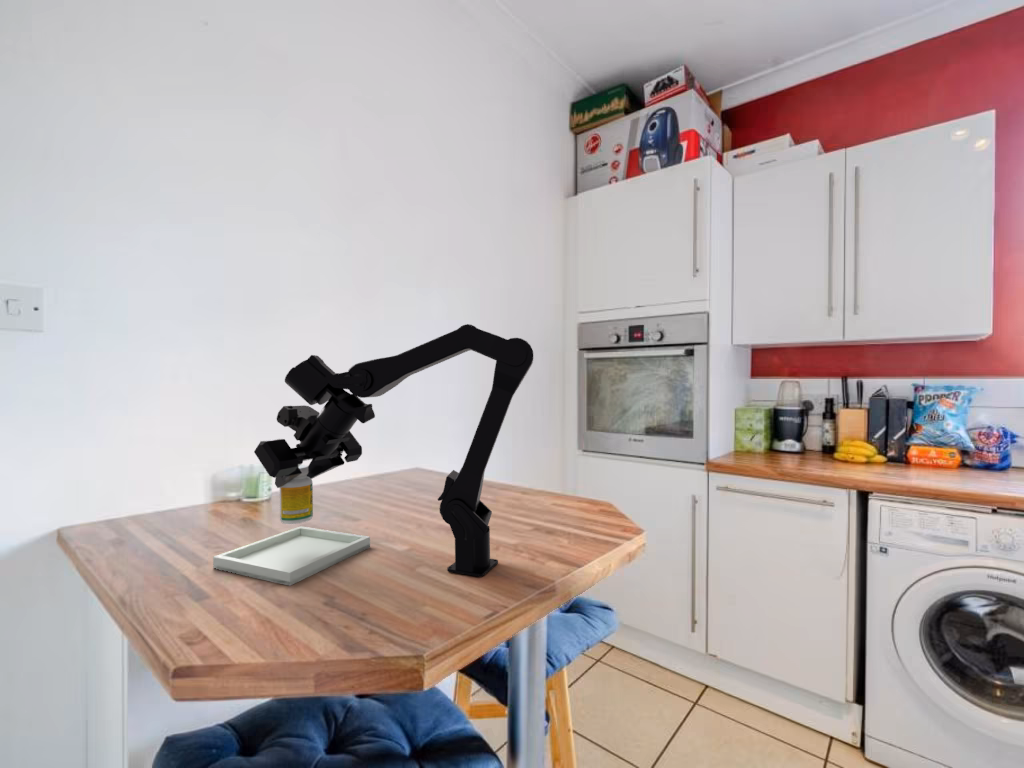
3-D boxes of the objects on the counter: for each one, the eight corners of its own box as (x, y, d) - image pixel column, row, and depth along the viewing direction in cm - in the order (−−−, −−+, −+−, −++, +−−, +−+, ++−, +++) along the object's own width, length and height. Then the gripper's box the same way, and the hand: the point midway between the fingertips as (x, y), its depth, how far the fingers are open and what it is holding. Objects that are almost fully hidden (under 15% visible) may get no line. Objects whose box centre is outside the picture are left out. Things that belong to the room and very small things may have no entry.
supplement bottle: (276, 520, 82) (276, 467, 82) (308, 514, 85) (307, 463, 86) (284, 526, 78) (283, 470, 78) (316, 520, 81) (316, 466, 81)
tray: (289, 585, 70) (289, 572, 70) (213, 568, 77) (213, 556, 77) (370, 547, 86) (370, 536, 86) (300, 535, 93) (300, 526, 93)
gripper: (349, 389, 89) (310, 443, 93) (260, 390, 72) (218, 457, 76) (382, 430, 85) (339, 485, 90) (296, 442, 68) (250, 508, 73)
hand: (291, 482), depth 82 cm, fingers closed on supplement bottle, 5 cm apart
